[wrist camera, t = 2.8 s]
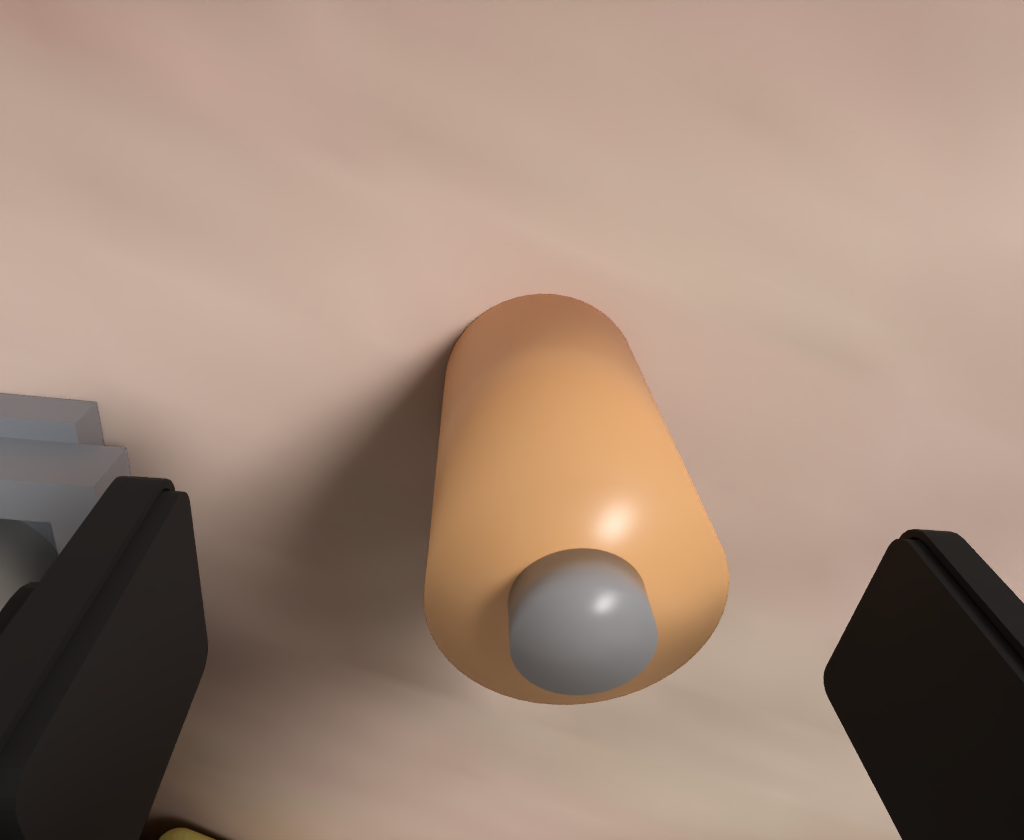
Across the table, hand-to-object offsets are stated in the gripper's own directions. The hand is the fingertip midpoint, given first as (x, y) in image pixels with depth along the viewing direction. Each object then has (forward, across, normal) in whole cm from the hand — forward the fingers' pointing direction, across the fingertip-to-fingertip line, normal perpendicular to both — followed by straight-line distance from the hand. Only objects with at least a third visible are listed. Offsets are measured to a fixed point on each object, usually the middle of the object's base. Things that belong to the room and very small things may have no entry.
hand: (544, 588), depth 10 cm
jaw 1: (+7, -1, +1) cm, 7 cm away
